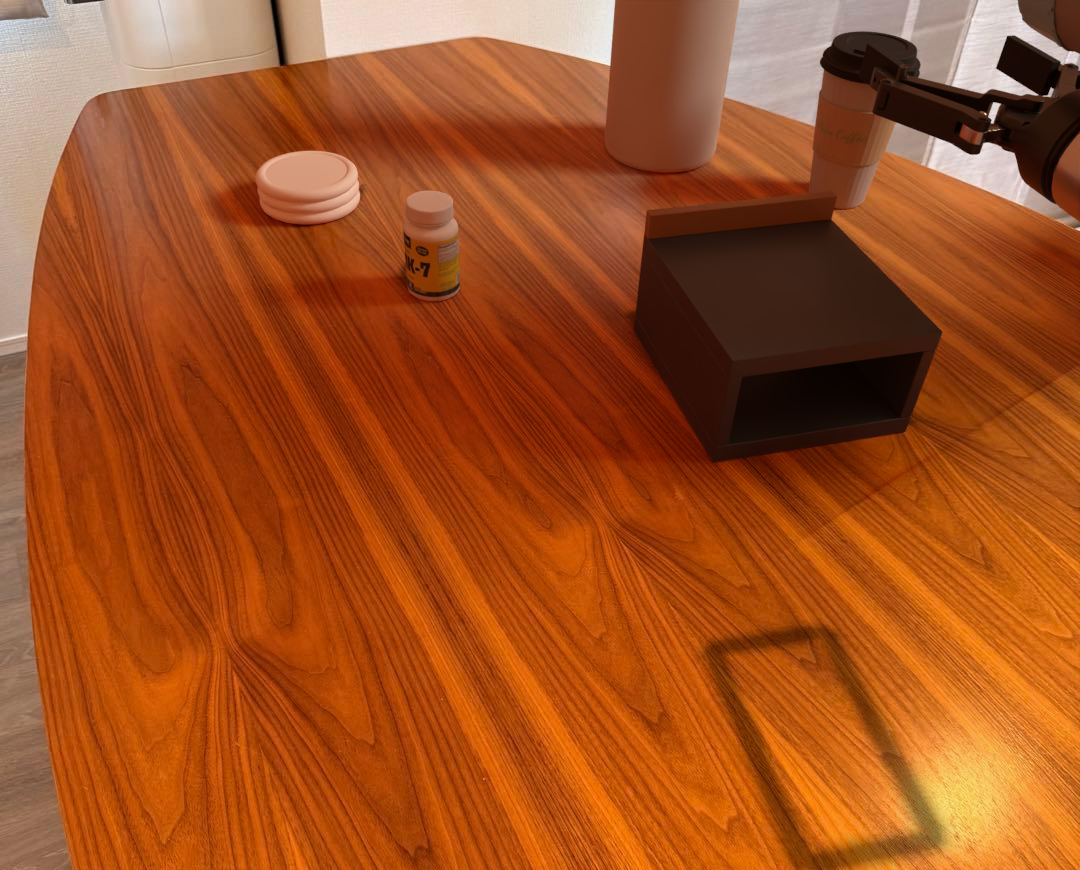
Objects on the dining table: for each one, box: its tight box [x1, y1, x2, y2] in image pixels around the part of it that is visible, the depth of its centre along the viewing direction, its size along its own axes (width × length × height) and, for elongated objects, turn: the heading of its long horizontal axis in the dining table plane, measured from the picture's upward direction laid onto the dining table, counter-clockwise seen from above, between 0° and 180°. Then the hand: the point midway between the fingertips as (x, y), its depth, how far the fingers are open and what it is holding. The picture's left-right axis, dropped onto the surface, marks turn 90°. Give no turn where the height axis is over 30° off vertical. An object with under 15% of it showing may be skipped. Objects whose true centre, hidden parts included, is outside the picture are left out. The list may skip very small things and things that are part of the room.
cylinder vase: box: [604, 0, 740, 174], centre depth 101 cm, size 12×12×25 cm
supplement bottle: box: [402, 189, 461, 302], centre depth 85 cm, size 5×5×8 cm
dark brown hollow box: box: [633, 191, 944, 463], centre depth 75 cm, size 18×16×11 cm
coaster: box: [254, 150, 361, 226], centre depth 97 cm, size 10×10×4 cm
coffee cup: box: [808, 30, 922, 210], centre depth 98 cm, size 9×9×15 cm
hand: (936, 55), depth 84 cm, fingers open, 13 cm apart
